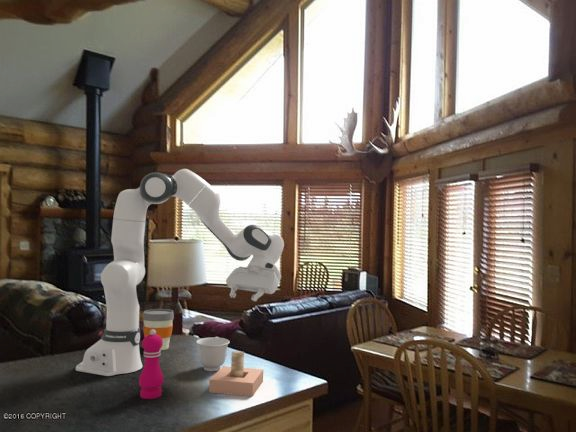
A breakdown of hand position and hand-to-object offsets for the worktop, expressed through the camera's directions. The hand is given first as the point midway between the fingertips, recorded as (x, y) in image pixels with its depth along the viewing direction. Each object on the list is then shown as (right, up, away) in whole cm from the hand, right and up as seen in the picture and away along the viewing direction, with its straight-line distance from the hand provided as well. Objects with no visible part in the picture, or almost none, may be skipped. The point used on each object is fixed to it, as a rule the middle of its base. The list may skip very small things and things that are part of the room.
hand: (242, 298), depth 170 cm
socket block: (0, -26, -15) cm, 30 cm away
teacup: (-11, -26, +4) cm, 29 cm away
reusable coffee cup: (-38, -26, +30) cm, 55 cm away
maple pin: (0, -26, -15) cm, 30 cm away
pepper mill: (-25, -25, -24) cm, 43 cm away
